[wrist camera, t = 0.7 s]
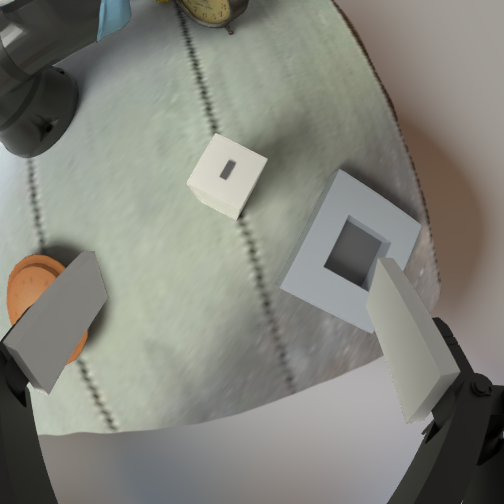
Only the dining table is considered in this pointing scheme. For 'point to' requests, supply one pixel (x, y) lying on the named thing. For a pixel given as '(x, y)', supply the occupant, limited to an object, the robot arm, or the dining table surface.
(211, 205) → the brick
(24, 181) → the dining table surface
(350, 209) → the gray socket base
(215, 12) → the alarm clock
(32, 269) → the pie
